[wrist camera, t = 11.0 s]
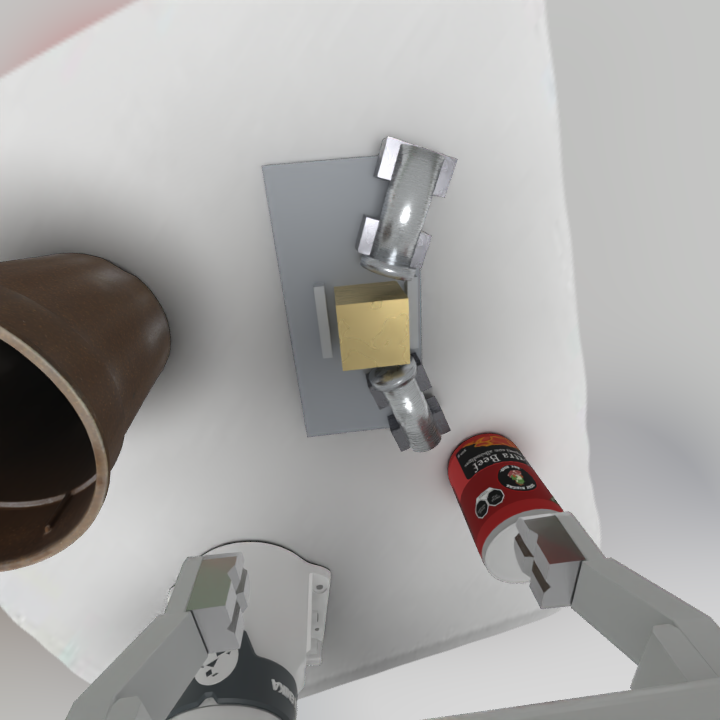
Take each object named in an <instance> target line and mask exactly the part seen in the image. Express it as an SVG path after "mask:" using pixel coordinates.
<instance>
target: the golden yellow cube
mask: <svg viewBox="0 0 720 720" xmlns="http://www.w3.org/2000/svg"><path fill="white" fill-rule="evenodd" d="M334 294H335V304H336V313H337V322H338V331H339V341H340V350H341V359H342V368H343V371H348V370H358V369H367V368H376V367H385V366H394V365H403V364H410V335H409V298H408V297H407V295H406V294H405V292H404V291H403V290H402V288H401V287H400V285H399V284H398V283H397V281H387V282H377V283H367V284H357V285H347V286H337V287H334Z"/></svg>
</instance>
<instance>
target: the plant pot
mask: <svg viewBox="0 0 720 720" xmlns="http://www.w3.org/2000/svg"><path fill="white" fill-rule="evenodd" d="M170 344H171V340H170V330H169V326H168V322H167V319H166V316H165V314H164V312H163V310H162V307H161V306H160V304H159V302H158V301H157V299H156V298H155V296H154V295H153V293H152V292H151V291H150V289H149V288H148V287H147V286H146V285H145V284H144V283H143V282H141V281H140V280H139V279H138V278H137V277H136V276H134V275H132V274H129V273H127V272H125V271H123V270H122V269H120V268H118V267H117V266H115V265H113V264H112V263H110V262H109V261H107V260H105V259H102V258H99V257H95V256H91V255H86V254H78V253H60V254H53V255H47V256H42V257H34V258H26V259H19V260H12V261H5V262H0V572H3V571H9V570H14V569H18V568H22V567H26V566H29V565H33V564H35V563H38V562H40V561H43V560H45V559H47V558H50V557H52V556H53V555H55V554H57V553H59V552H60V551H62V550H64V549H65V548H67V547H68V546H70V545H71V544H72V543H74V542H75V541H76V540H77V539H78V538H79V537H81V536H82V535H83V534H84V532H85V531H86V530H87V529H88V528H89V527H90V525H91V524H92V523H93V521H94V520H95V518H96V516H97V515H98V513H99V511H100V509H101V507H102V505H103V503H104V501H105V498H106V495H107V492H108V488H109V484H110V471H111V470H112V468H113V466H114V464H115V462H116V460H117V458H118V456H119V454H120V451H121V448H122V445H123V440H124V435H125V433H126V432H127V430H128V428H129V426H130V425H131V423H132V421H133V419H134V418H135V416H136V414H137V412H138V410H139V409H140V407H141V405H142V403H143V402H144V400H145V398H146V396H147V395H148V393H149V391H150V389H151V388H152V386H153V384H154V383H155V381H156V379H157V377H158V376H159V375H160V373H161V372H162V370H163V368H164V366H165V364H166V361H167V359H168V357H169V352H170Z"/></svg>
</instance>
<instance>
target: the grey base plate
mask: <svg viewBox="0 0 720 720" xmlns="http://www.w3.org/2000/svg"><path fill="white" fill-rule="evenodd" d="M377 160H378V156H369V157H358V158H346V159H335V160H323V161H311V162H300V163H288V164H277V165H265V166H262V171H263V176H264V182H265V188H266V194H267V200H268V206H269V212H270V218H271V224H272V230H273V236H274V242H275V248H276V254H277V260H278V266H279V272H280V277H281V283H282V289H283V295H284V301H285V307H286V313H287V319H288V325H289V331H290V337H291V343H292V349H293V355H294V361H295V367H296V372H297V378H298V384H299V390H300V396H301V402H302V408H303V414H304V420H305V426H306V432H307V437H313V436H322V435H330V434H339V433H347V432H356V431H364V430H373V429H381V428H390V425H389V422H388V418H387V416H389V415H392V414H393V412H392V410H391V408H390V406H388V407H385V408H383V409H381V410H380V409H379V407H378V406H377V404H376V402H375V400H374V398H373V396H372V394H371V392H370V390H369V388H368V384H367V379H366V375H365V374H367V373H369V372H371V370H372V369H373V368H367V369H358V370H348V371H343V368H342V359H341V350H340V341H339V331H338V322H337V313H336V304H335V294H334V287H337V286H347V285H357V284H367V283H377V282H387V281H397V283H398V284H399V285H400V287H401V288H402V290H403V291H404V292H405V294H406V295H407V297H408V298H409V335H410V354H412V353H414V352H416V354H417V356H418V358H419V360H420V362H421V363H422V353H421V272H420V269H418V268H416V272H415V275H414V278H413V280H412V281H402V280H397V279H392V278H388V277H385V276H382V275H379V274H376V273H373V272H371V271H369V270H367V269H365V268H363V267H362V266H360V261H361V258H362V253H359V252H357V250H356V248H355V244H356V240H357V236H358V232H359V228H360V225H361V221H362V217H363V214H365V215H368V216H372V217H375V218H379V219H380V216H381V212H382V208H383V205H384V201H385V198H386V194H387V190H388V187H389V183H390V182H389V181H386V180H382V179H379V178H376V177H373V175H374V171H375V167H376V163H377Z"/></svg>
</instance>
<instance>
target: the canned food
mask: <svg viewBox="0 0 720 720" xmlns="http://www.w3.org/2000/svg"><path fill="white" fill-rule="evenodd" d="M448 475H449V480H450V483H451V486H452V488H453V491H454V493H455V495H456V498H457V500H458V503H459V505H460V508H461V510H462V513H463V515H464V517H465V520H466V522H467V525H468V527H469V530H470V532H471V535H472V537H473V539H474V542H475V544H476V547H477V549H478V552H479V554H480V556H481V558H482V561H483V563H484V565H485V566H486V568H487V570H488V572H489V573H490V574H491V575H492V576H493V577H494V578H496V579H498V580H500V581H503V582H507V583H526V582H530V579H531V578H530V577H528V576H527V575H526V574H524V573H523V572H522V571H521V569H520V567H519V564H518V562H517V559H516V556H515V551H514V538H515V537H516V536H517V534H518V533H519V532H518V530H517V528H516V522H517V520H518V518H519V517H527V516H534V515H541V514H549V513H550V514H552V513H559V512H564V511H563V510H562V508H561V507H560V505H559V504H558V503H557V501H556V500H555V499H554V497H553V496H552V494H551V493H550V492H549V490H548V489H547V488H546V486H545V485H544V483H543V482H542V481H541V479H540V478H539V477H538V475H537V474H536V472H535V471H534V470H533V468H532V467H531V466H530V464H529V463H528V461H527V460H526V459H525V457H524V456H523V455H522V453H521V452H520V450H519V449H518V448H517V446H516V445H515V444H514V443H513V442H511V441H510V440H508V439H507V438H505V437H503V436H501V435H498V434H491V433H489V434H481V435H477V436H474V437H472V438H470V439H468V440H466V441H464V442H463V443H462V444H461V445H459V446H458V448H457V449H456V450H455V451H454V452H453V454H452V456H451V458H450V461H449V466H448Z"/></svg>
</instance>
